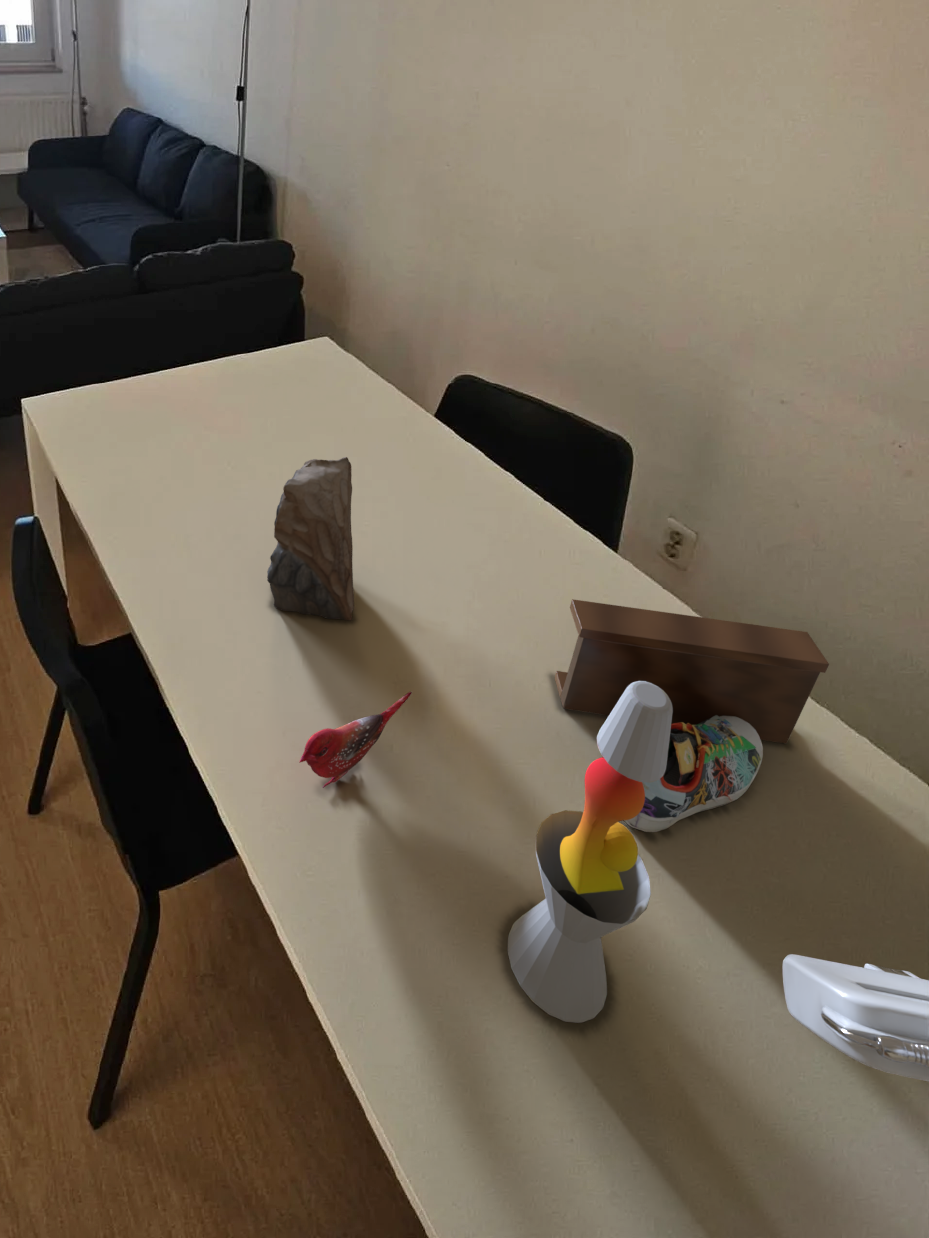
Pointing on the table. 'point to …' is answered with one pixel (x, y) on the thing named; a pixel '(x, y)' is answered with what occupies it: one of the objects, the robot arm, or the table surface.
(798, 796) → the table surface
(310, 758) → the decorative bird figurine
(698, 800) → the sneaker
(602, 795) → the lava lamp
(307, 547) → the brown rock
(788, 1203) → the table surface
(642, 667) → the wooden wall shelf
